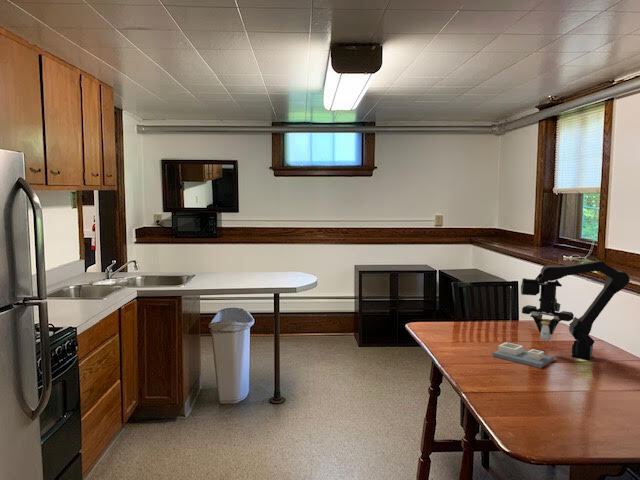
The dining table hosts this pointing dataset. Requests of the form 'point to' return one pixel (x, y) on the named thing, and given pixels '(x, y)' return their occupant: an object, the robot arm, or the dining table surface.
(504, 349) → the board
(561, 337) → the dining table surface
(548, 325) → the gold capped canister
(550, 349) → the dining table surface
